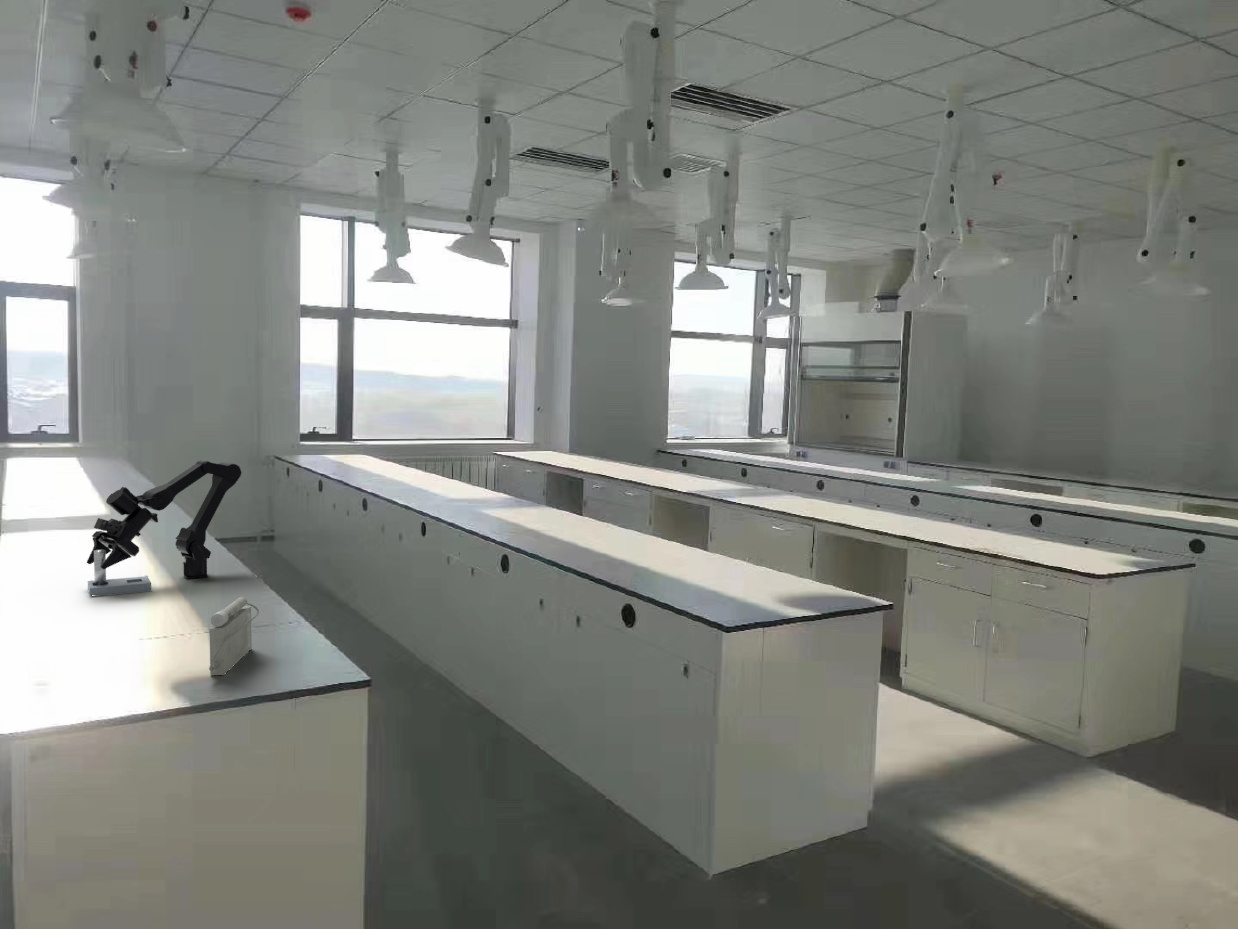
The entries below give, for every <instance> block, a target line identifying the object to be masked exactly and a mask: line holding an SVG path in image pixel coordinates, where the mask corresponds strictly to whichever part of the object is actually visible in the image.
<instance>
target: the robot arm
mask: <svg viewBox="0 0 1238 929" xmlns="http://www.w3.org/2000/svg"><path fill="white" fill-rule="evenodd" d="M242 472H243V471H242V469H241V467H240V465H238V464H236V463H232V462H220V463H214V462H211V461H209V460H202V459H201V460H198V461H196V462H195V464H194V465H191V466H190V467H188V469H185V471H183V472H181V473H180V474H178V475H176V477H174V478H172V479H171V480H170V481H168V482H166V483H164V484H162V485H158V486H155V487H153V488H150V489H148V490H147V491H145V492H143V494H140V495H136V496H135V494H133V493H132V492H131V491H130V490H129V489H128V488H127V487H125V486H121V487H120V489H118V490H115V491H114V492H112V493H111V494H110V495H109V496H108V497H107V498H106V500H105V501H106V502H105V503H106V504H107V505H108V506H110V507H111V508H112V509H113V510H114V511H115V512H116V513H118V514H119V515H120V516H125V515H126V516H125V517H124V519H123V520H118V519H115V518H109V520H108V519H107V520H106V519H103V518H101V517H100V518H99V517H97V519H96V522H95V524H94V525H93V528H94V529H97V530H96V531H95V532H94V533H92V535H91V537H92V541H93V548H92V550H91V552H90V554H89V556H88V558H87V560H86V563H87V564H88V565H92V564H94V551H95V550H105V551H106V555H108V554H109V555H108V556H107V558H106V560H105V561H104V563H103V564H102V566H101V568H102V569H106V570H107V569H109V568H110V567H112V566H114V565H116V564H118V563H120V562H122V561H125V560H127V559H130V558H132V557H136V556H137V554H139V552H140V547H139V546H138V545H137V544H135V543H134V542H133V540H134V539H135V537H140V536H141V535H142V534H141V533H140V532H141V531H142V529H143V530H144V528H145V527H146V526H147V524H148V523H149V522H152V523H153V522H154V523H158V522H159V518H158V516H159V515H158V513H156V512H152V511H150V510H153V511H159V512H160V511H163V510H165V509H166V508H167V507H168V506H169V505H171V503H172V502H173V501H174V499H175V497H176V496H177V495H179V494H180V493H181V492H182V491H184V490H185V489H187V488H188V487H190V486H191V485H193V484H194V483H195V482H197V481H199V480H200V479H201V478H203V477H204V476H206V475H207V474H209V475H212V478H211V479H212V482H211V486H210V489H209V490H208V492H207V494H206V496H205V497H204V500H203V501H202V503H201V505H200V507H199V509H198V511H197V512H196V514H195V517H194V519H193V520H192V522H191V524H190V525H189V526H187V527H181V528H180V530H179V533H178V535H177V536H176V537H175V538H174V539H175V540H176V541H175V548H176V549H177V551H178V552H180V555H181V557H183V558H184V560H183V561H182V575H183V576H184V578H186V579H187V580H188V579H197V578H196V577H201V578H208V577H209V574H208V559H209V558H210V557H211V554H212V552H211V550H210V549H208V548H207V546H205V542H206V540H207V538H206V537H207V529H208V528H209V526H210V524H211V522H212V520H213V518H214V516H215V515H216V512H217V510H218V508H219V506H220V505H221V503H222V500H223V499H224V496H225V495H226V493H227V492H228V490H230V489H231V488H232V487H234V486H235V485H236V483H237V482H238V481H239V479H240V478H241V476H242ZM141 506H143V507H141ZM186 579H185V580H186Z"/></svg>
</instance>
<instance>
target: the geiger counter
mask: <svg viewBox="0 0 1238 929" xmlns="http://www.w3.org/2000/svg"><path fill="white" fill-rule="evenodd" d="M252 607H253V608H254V609H255V610H256V613H255V615H253V616H252ZM259 611H260V610H259V608H258V607H257V606H256V605H254V604H252V603H249V602H248V600H247V598H246V597H244V596H239V597H238V598H236V599H235V600H234V601H232V602H231V603H230V604H228V605H226V607H225V608H223V609H222V610H219V611H217V612H215V613H214V614H213V615H212V616H211V617H210V624H211V625H212V626H211V627H210V628H209V660H210V661H209V668H208V669H209V671H210V672H209V673H210V674H209V675H224V674H225V673H226V672H227V671H228V670H229V669H231V668H232V667H233V665H235V664H236V663H237V662H238V661H239V660H240V659H241V658H242V657H243V656H244V657H246V655H247V654H248V653H249V652H248V651H249V650H251V648H252V649H253V644H252V641H253V640H252V636H253V635H252V621H253V620H254V619H256V618H257V617H258V615H259V614H260V612H259ZM251 651H252V650H251ZM247 652H248V653H247ZM246 653H247V654H246ZM245 654H246V655H245ZM244 657H243V658H244ZM243 658H242V659H243ZM242 659H241V660H242ZM241 660H240V661H241ZM240 661H239V662H240ZM239 662H238V663H239ZM238 663H237V664H238ZM237 664H236V665H237ZM236 665H235V666H236ZM233 668H234V667H233ZM233 668H232V669H233ZM232 669H231V670H232ZM224 676H225V675H224Z"/></svg>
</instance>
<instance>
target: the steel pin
mask: <svg viewBox="0 0 1238 929" xmlns="http://www.w3.org/2000/svg"><path fill="white" fill-rule="evenodd" d="M106 556H107V554H106V551H105V550H95V551H94V562H93V568H94V569H93V570H94V581H95V586H97V585H106V580H107V568H106V569H102V568H101V566H102V564H103V563H104V561H105V560H106V559H107V558H106Z"/></svg>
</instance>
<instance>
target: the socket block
mask: <svg viewBox="0 0 1238 929" xmlns="http://www.w3.org/2000/svg"><path fill="white" fill-rule="evenodd" d="M87 591H89V592H88V595H89V597H90V596H92V595H104V596H114V595H125V594H135V593H144V592H145V593H147V592H152V582H151V580H150V578H149V576H145V575H144V576H133V577H123V578H112V579H111V578H110V579H106V585H97V586H95V580H88V581H87Z"/></svg>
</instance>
